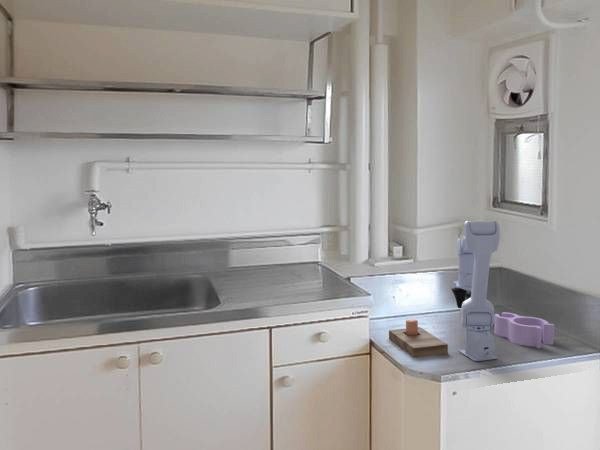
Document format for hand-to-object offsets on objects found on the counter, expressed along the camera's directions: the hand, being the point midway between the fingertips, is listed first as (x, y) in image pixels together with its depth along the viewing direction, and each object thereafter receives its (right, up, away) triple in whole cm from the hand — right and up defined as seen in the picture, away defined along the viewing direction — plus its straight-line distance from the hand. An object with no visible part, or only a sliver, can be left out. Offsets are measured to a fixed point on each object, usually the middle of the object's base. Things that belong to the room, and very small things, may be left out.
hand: (466, 310), depth 194 cm
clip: (+19, -10, -3) cm, 21 cm away
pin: (-20, -10, -4) cm, 23 cm away
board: (-19, -11, -8) cm, 23 cm away
